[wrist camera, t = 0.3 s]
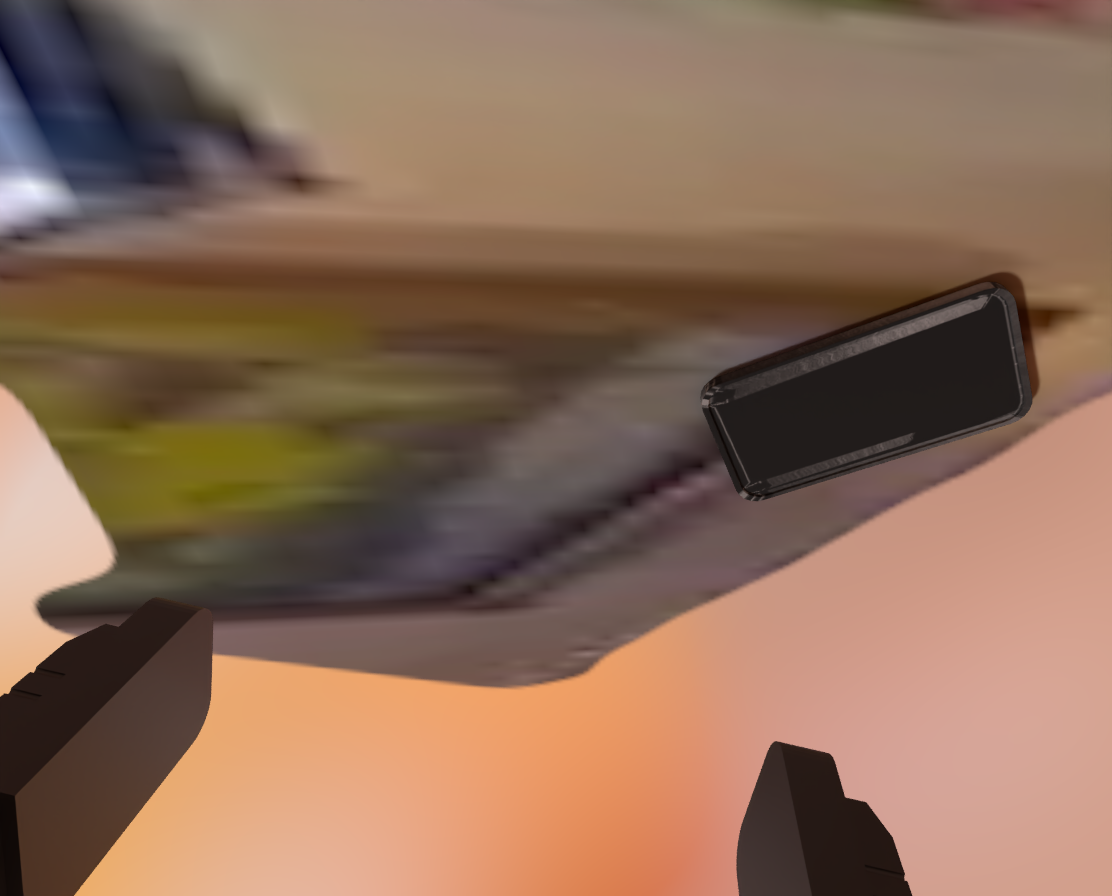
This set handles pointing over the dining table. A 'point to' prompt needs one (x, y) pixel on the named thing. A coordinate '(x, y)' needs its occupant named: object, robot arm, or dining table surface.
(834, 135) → the dining table surface
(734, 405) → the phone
